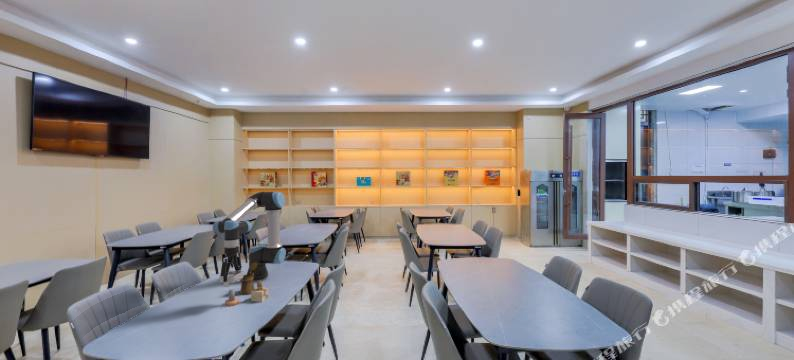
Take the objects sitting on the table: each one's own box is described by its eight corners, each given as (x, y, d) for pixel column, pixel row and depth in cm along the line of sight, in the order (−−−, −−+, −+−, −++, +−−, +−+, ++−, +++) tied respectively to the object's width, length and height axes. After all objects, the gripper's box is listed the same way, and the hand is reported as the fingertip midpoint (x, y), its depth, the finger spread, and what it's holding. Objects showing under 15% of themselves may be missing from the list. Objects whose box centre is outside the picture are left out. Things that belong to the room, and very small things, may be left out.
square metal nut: (229, 277, 187) (229, 270, 187) (243, 277, 186) (243, 271, 186) (219, 282, 178) (219, 275, 178) (233, 282, 177) (233, 275, 177)
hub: (230, 300, 186) (230, 287, 186) (241, 301, 186) (241, 288, 186) (222, 305, 179) (222, 292, 179) (233, 306, 179) (233, 292, 178)
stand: (257, 296, 193) (257, 279, 193) (268, 297, 192) (268, 279, 192) (251, 301, 186) (251, 283, 186) (262, 301, 185) (262, 283, 185)
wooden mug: (262, 287, 208) (261, 261, 208) (249, 295, 195) (248, 267, 195) (250, 287, 210) (250, 261, 210) (236, 294, 197) (236, 266, 196)
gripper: (236, 242, 193) (236, 278, 193) (212, 250, 172) (212, 290, 172) (248, 242, 192) (248, 278, 193) (225, 250, 171) (225, 291, 171)
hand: (231, 284), depth 182 cm, fingers closed on square metal nut, 9 cm apart
